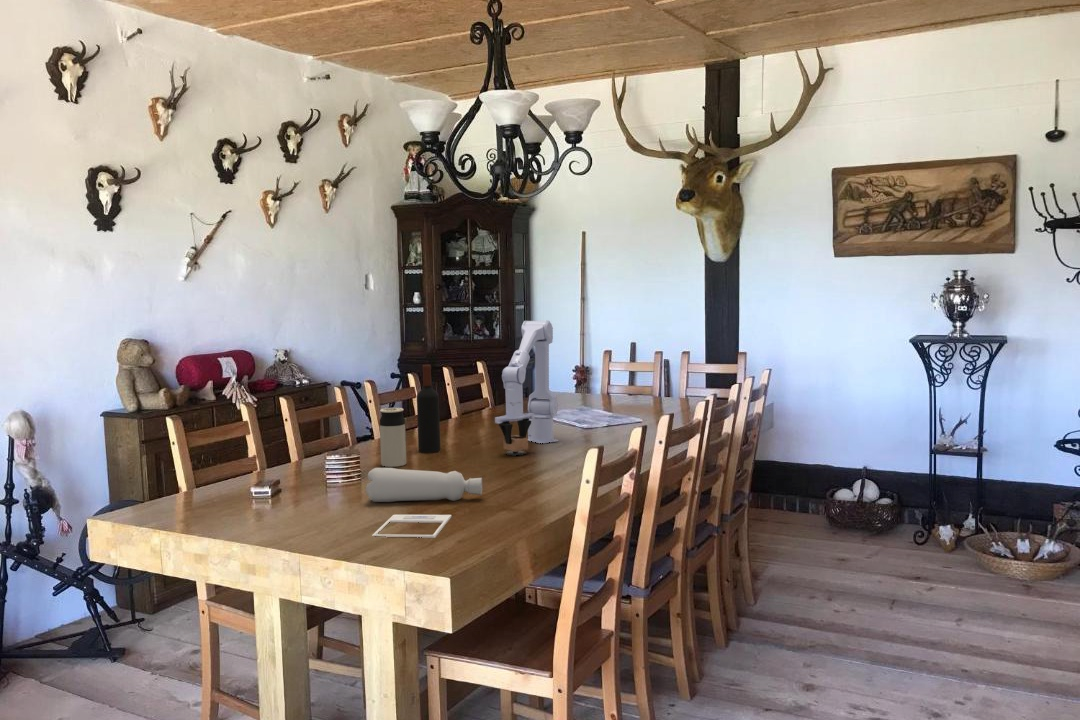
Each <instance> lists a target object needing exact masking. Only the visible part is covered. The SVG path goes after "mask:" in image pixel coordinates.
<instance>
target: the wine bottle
mask: <svg viewBox="0 0 1080 720" xmlns="http://www.w3.org/2000/svg"><path fill="white" fill-rule="evenodd" d="M422 381H423V382H422V383H423V385H422V389H421V390H420V391H419V392H417V394H416V412H417V413H416V415H417V416H416V417H417V418H416V419H417V440H418V442H417V443H418V453H420V452H421V453H420V454H436V453H439V451H440V450H441V430H440V429H441V426H440V424H441V423H440V421H441V419H440V398H439V393H438V392H437V391H436V390H435V389H434V388H433V386H432V366H431V364H428V363H427V364H422ZM435 452H436V453H435ZM440 452H441V451H440Z"/></svg>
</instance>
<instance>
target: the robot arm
mask: <svg viewBox="0 0 1080 720" xmlns="http://www.w3.org/2000/svg"><path fill="white" fill-rule="evenodd" d="M520 329H521V336H522V338H521V342H520V345H519V348H518V349H517V350H515V351H514V352H513V355H512V357H511V359H510V361H509V364H508V366H505V367H504V368H503V369H502V371H501V373H502V374H501V380H502V382H503V389H505V415H501V416H496V417H495V416H494V424H498V426H499V428H500V430H501V432H502V434H503V437H504V438H505V441H506V443H507V444H511V436H512V431H513V430H512V429H513V424H512V422H516V423H517V425H518V432H519V433H518V436H522V437H527V438H528V442H531V441H532V442H531V443H535V442H536V444H540V443H541V444H542V443H543V444H547V443H549V442H550V443H554V442H559V439H556V438H554V417H555V416H556V415H557V414H558V409H559V405H558V400H557V398H558V397H557V395H556V394H555V393H554V392H552V390H550V375H549V374H550V344H552V343H553V339H554V338H553V337H554V336H553V334H554V333H553V331H554V330H553V329H554V328H553V324H552V323H551V321H550V320H524V321H523V323H522V325H521V328H520ZM533 347H534V352H535V354H534V357H535V358H534V361H535V362H534V366H535V367H534V368H535V369H534V375H535V377H534V378H535V379H534V382H535V383H534V386H535V387H534V388H535V389H534V391H533V392H532V393H530V394H529V395H528V402H527V412H526V413H525V412H524V400H523V399H524V398H523V397H524V395H523V394H524V393H523V389H524V388H523V384H524V383H525V380H526V373H527V369H526V368H527V366H528V364H529V361H530V359H531V356H530V351H531V350H532V349H533ZM541 444H540V445H541Z"/></svg>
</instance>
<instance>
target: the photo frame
mask: <svg viewBox="0 0 1080 720" xmlns="http://www.w3.org/2000/svg"><path fill="white" fill-rule="evenodd" d="M451 518H452V514H392V516H391V517H389V518H388V519H387V520H386V521H385V522H384V523H383V524H382V525H381V526H380V527H379V528H378V529H377V530H376V531H375V532H374V533H372V535H371V537H372V536H386V537H385V538H387V537H417V538H418V537H420V538H418V539H435V538H437V536H438V535H439V534H440V532H441V530H443V529H444V527H445V526H446V524H448V522H449V521H450V519H451ZM389 522H390V523H418V522H419V524H420V523H423V524H425V523H426V524H428V523H431V524H432V523H435V524H436V523H439V524H440V523H441V524H440V525H439V526H438V528H437V529H436V530H435V532H434V533H433V534H397V533H396V534H389V533H388V534H387V533H385V534H380V533H379V534H378V532H379V531H381V530H382V529H383V528H384V527H385V526H386V525H387V524H388V523H389ZM390 523H389V524H390ZM389 524H388V525H389ZM388 525H387V526H388ZM387 526H386V527H387ZM386 527H385V528H386ZM385 528H384V529H385ZM384 529H383V530H384ZM383 530H382V531H383ZM382 531H381V532H382ZM421 537H422V538H421ZM417 538H416V539H417Z"/></svg>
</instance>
